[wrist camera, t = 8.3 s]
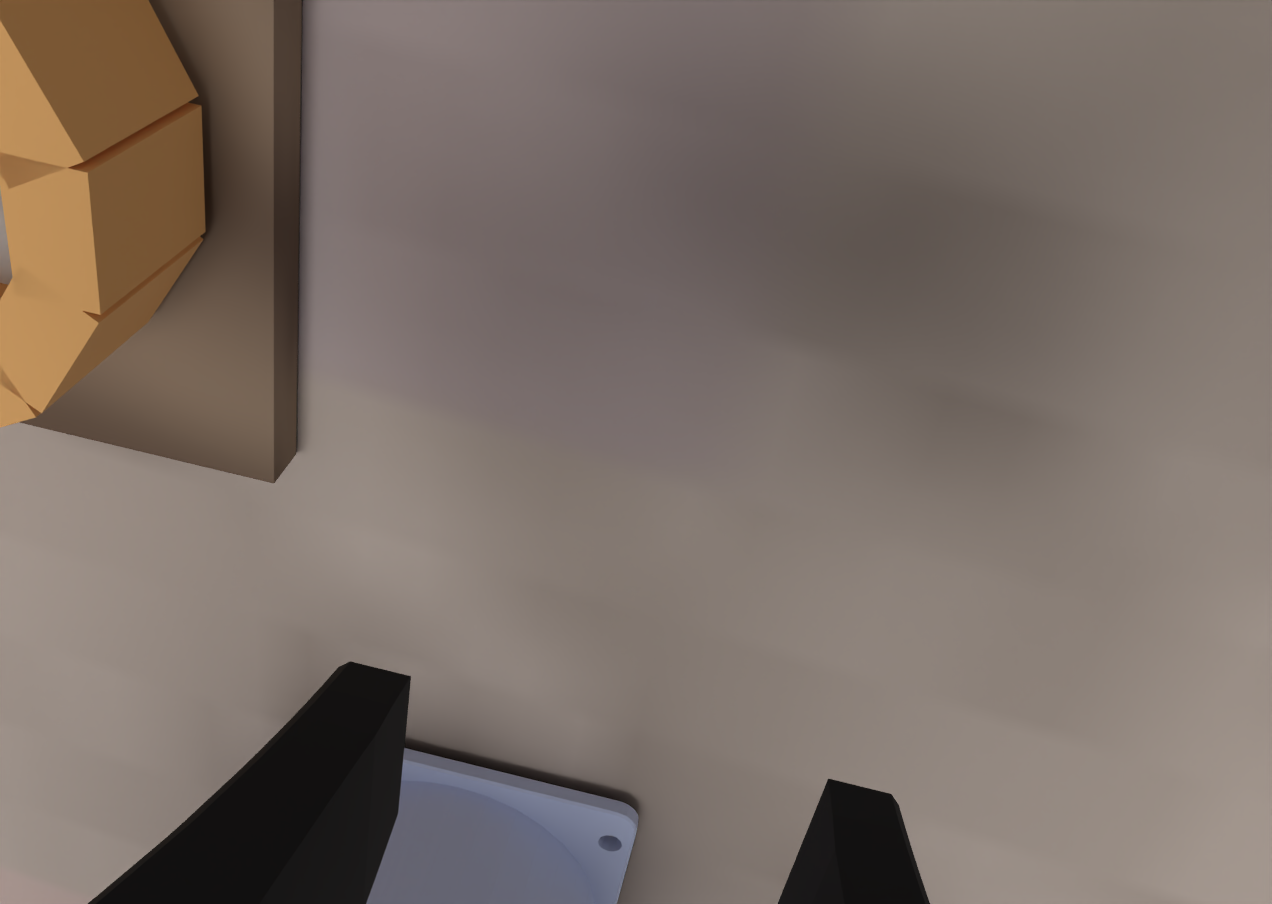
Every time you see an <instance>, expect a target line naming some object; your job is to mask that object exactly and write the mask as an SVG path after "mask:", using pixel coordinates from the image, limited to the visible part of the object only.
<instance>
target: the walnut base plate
mask: <svg viewBox="0 0 1272 904" xmlns="http://www.w3.org/2000/svg"><path fill="white" fill-rule="evenodd" d="M149 2H150V4H151V6H152V8H153V10H154V12H155V14H156V16H157V18H158V19H159V21H160V23H161V25H162V27H163V29H164V31H165V33H166V35H167V37H168V38H169V40H170V42H171V44H172V46H173V48H174V50H175V52H176V54H177V55H178V57H179V59H180V61H181V63H182V65H183V67H184V69H185V71H186V73H187V74H188V76H189V78H190V80H191V82H192V84H193V86H194V88H195V90H196V92H197V93H198V95H199V96H198V97H196V98H194V99H193V100H191V101H189V103H193V104H197V105H201V106H202V137H203V168H204V199H205V230H206V232H205V233H203V234H202V235H201V236H200V237H201V238H203V241H202V242H201V244H200V245H199V247H198V248H197V250H196V251H195V253H194V254H193V256H192V257H191V259H190V260H189V262H188V263H187V265H186V266H185V268H184V269H183V271H182V272H181V274H180V275H179V277H178V278H177V280H176V281H175V283H174V284H173V286H172V287H171V289H170V290H169V292H168V293H167V295H166V296H165V298H164V299H163V301H162V302H161V304H160V305H159V307H158V308H157V310H156V311H155V313H154V314H153V316H152V317H151V319H150V320H149V322H148V323H147V324H145V325H144V326H143V327H142V328H141V329H140V330H138V331H137V332H136V333H135V334H134V335H133V336H131V337H130V338H129V339H128V340H127V341H126V342H124V343H123V344H122V345H121V346H120V347H119V348H117V349H116V350H115V351H114V352H113V353H112V354H110V355H109V356H108V357H107V358H106V359H105V360H103V361H102V362H101V363H100V364H99V365H98V366H96V367H95V368H94V369H93V370H92V371H91V372H89V373H88V374H87V375H86V376H85V377H84V378H82V379H81V380H80V381H79V382H78V383H77V384H75V385H74V386H73V387H72V388H71V389H70V390H68V391H67V392H66V393H65V394H64V395H63V396H61V397H60V398H59V399H58V400H57V401H56V402H54V403H53V404H52V405H51V406H50V407H48V408H47V409H46V410H45V411H44V412H43V413H41V414H39V415H38V416H37V417H36V418H32V419H28V420H25V421H21V422H20V423H25V424H29V425H33V426H37V427H41V428H45V429H50V430H54V431H58V432H62V433H66V434H70V435H75V436H79V437H83V438H87V439H91V440H95V441H100V442H104V443H108V444H112V445H116V446H120V447H125V448H129V449H133V450H137V451H141V452H145V453H149V454H154V455H158V456H162V457H166V458H170V459H174V460H179V461H183V462H187V463H191V464H195V465H199V466H204V467H208V468H212V469H216V470H220V471H224V472H229V473H233V474H237V475H241V476H245V477H249V478H254V479H258V480H262V481H266V482H270V483H275V481H276V480H277V479H278V477H279V476H280V475H281V473H282V472H283V471H284V469H285V468H286V467H287V465H288V464H289V463H290V461H291V460H292V459H293V457H294V456H295V455H296V429H297V349H298V268H299V188H300V107H301V27H302V0H149ZM12 278H13V277H12V270H11V262H10V255H9V248H8V240H7V233H6V226H5V219H4V211H3V204H2V197H1V189H0V283H3V284H7V285H9V283H10V281H11V279H12Z"/></svg>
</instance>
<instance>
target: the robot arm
mask: <svg viewBox="0 0 1272 904" xmlns="http://www.w3.org/2000/svg"><path fill="white" fill-rule="evenodd" d="M410 680H411V676H407V675H403V674H399V673H395V672H391V671H387V670H383V669H378V668H374V667H370V666H366V665H362V664H358V663H354V662H348V663H346V664H344V665H342V666H340V667H338V668H337V670H336V671H335V672H334V673H333V674H332V675H331V676H330V678H329V679H328V680H327V681H326V682H325V683H324V684H323V685H322V687H321V688H320V689H319V690H318V691H317V692H316V693H315V694H314V695H313V696H312V697H311V698H310V700H309V701H308V702H307V703H306V704H305V705H304V706H303V707H302V708H301V709H300V710H299V711H298V712H297V713H296V714H295V716H294V717H293V718H292V719H291V720H290V721H289V722H288V723H287V724H286V725H285V726H284V727H283V728H282V729H281V730H280V731H279V732H278V733H277V734H276V735H275V736H274V737H273V738H272V739H271V740H270V741H269V742H268V743H267V744H266V745H265V746H264V747H263V748H262V749H261V750H260V751H259V752H258V753H257V754H256V755H255V756H254V757H253V758H252V759H251V760H250V761H249V762H248V763H247V764H246V765H245V766H244V767H243V768H242V769H241V770H239V771H238V772H237V773H236V774H235V775H234V776H233V777H232V778H231V779H230V780H229V781H228V782H227V783H225V784H224V785H223V786H222V787H221V788H220V789H219V790H218V791H217V792H216V793H215V794H214V795H213V796H212V797H210V798H209V799H208V800H207V801H206V802H205V803H204V804H203V805H202V806H201V807H200V808H199V809H198V810H196V811H195V812H194V813H193V814H192V815H191V816H190V817H189V818H188V819H187V820H186V821H185V822H183V823H182V824H181V825H180V826H179V827H178V828H177V829H176V830H175V831H173V832H172V833H171V834H170V835H169V836H168V837H167V838H165V839H164V840H163V841H162V842H161V843H159V844H158V845H157V846H156V847H155V848H154V849H152V850H151V851H150V852H149V853H148V854H146V855H145V856H144V857H143V858H142V859H140V860H139V861H138V862H137V863H136V864H135V865H133V866H132V867H131V868H130V869H129V870H127V871H126V872H125V873H124V874H123V875H122V876H120V877H119V878H118V879H117V880H116V881H114V882H113V883H112V884H111V885H110V886H108V887H107V888H106V889H105V890H104V891H103V892H101V893H100V894H99V895H98V896H97V897H95V898H94V899H93V900H92V901H90V902H89V903H88V904H617V901H618V898H619V894H620V890H621V887H622V883H623V880H624V876H625V872H626V869H627V865H628V861H629V858H630V854H631V850H632V847H633V843H634V840H635V836H636V832H637V827H638V814H637V813H636V811H635V810H634V809H633V808H632V807H631V806H629V805H628V804H626V803H623V802H621V801H617V800H613V799H609V798H605V797H601V796H597V795H593V794H589V793H585V792H581V791H577V790H573V789H569V788H565V787H561V786H557V785H553V784H548V783H544V782H540V781H536V780H532V779H528V778H524V777H520V776H516V775H512V774H508V773H504V772H500V771H496V770H492V769H488V768H484V767H480V766H476V765H472V764H468V763H464V762H459V761H455V760H451V759H447V758H443V757H439V756H435V755H431V754H427V753H423V752H419V751H415V750H411V749H407V748H404V745H405V734H406V723H407V713H408V702H409V691H410ZM611 836H614V837H611ZM778 904H930V903H929V900H928V897H927V894H926V891H925V888H924V885H923V882H922V879H921V876H920V873H919V870H918V867H917V864H916V861H915V858H914V855H913V852H912V848H911V845H910V842H909V839H908V835H907V832H906V829H905V825H904V822H903V819H902V815H901V812H900V808H899V805H898V803H897V802H896V800H895V799H894V797H893V796H892V794H889V793H885V792H881V791H876V790H872V789H868V788H864V787H860V786H856V785H852V784H848V783H844V782H840V781H836V780H832V779H828V781H827V783H826V786H825V788H824V791H823V793H822V796H821V798H820V801H819V803H818V806H817V808H816V811H815V813H814V815H813V818H812V820H811V823H810V825H809V828H808V830H807V833H806V835H805V838H804V840H803V843H802V845H801V848H800V850H799V853H798V855H797V857H796V860H795V862H794V865H793V867H792V870H791V872H790V875H789V877H788V880H787V882H786V885H785V887H784V890H783V892H782V895H781V897H780V899H779V902H778Z"/></svg>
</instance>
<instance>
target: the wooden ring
mask: <svg viewBox="0 0 1272 904" xmlns="http://www.w3.org/2000/svg"><path fill="white" fill-rule="evenodd" d="M198 96H199V95H198V93H197V92H196V90H195V88H194V86H193V84H192V82H191V80H190V78H189V76H188V74H187V73H186V71H185V69H184V67H183V65H182V63H181V61H180V59H179V57H178V55H177V54H176V52H175V50H174V48H173V46H172V44H171V42H170V40H169V38H168V37H167V35H166V33H165V31H164V29H163V27H162V25H161V23H160V21H159V19H158V18H157V16H156V14H155V12H154V10H153V8H152V6H151V4H150V2H149V0H0V189H1V197H2V204H3V211H4V219H5V226H6V233H7V240H8V248H9V255H10V262H11V270H12V277H13V278H12V279H11V281H10V283H9V285H7V284H3V283H0V427H3V426H7V425H10V424H14V423H18V422H21V421H25V420H28V419H32V418H36V417H37V416H38V415H39V414H41V413H43V412H44V411H45V410H46V409H47V408H48V407H50V406H51V405H52V404H53V403H54V402H56V401H57V400H58V399H59V398H60V397H61V396H63V395H64V394H65V393H66V392H67V391H68V390H70V389H71V388H72V387H73V386H74V385H75V384H77V383H78V382H79V381H80V380H81V379H82V378H84V377H85V376H86V375H87V374H88V373H89V372H91V371H92V370H93V369H94V368H95V367H96V366H98V365H99V364H100V363H101V362H102V361H103V360H105V359H106V358H107V357H108V356H109V355H110V354H112V353H113V352H114V351H115V350H116V349H117V348H119V347H120V346H121V345H122V344H123V343H124V342H126V341H127V340H128V339H129V338H130V337H131V336H133V335H134V334H135V333H136V332H137V331H138V330H140V329H141V328H142V327H143V326H144V325H145V324H147V323H148V322H149V320H150V319H151V317H152V316H153V314H154V313H155V311H156V310H157V308H158V307H159V305H160V304H161V302H162V301H163V299H164V298H165V296H166V295H167V293H168V292H169V290H170V289H171V287H172V286H173V284H174V283H175V281H176V280H177V278H178V277H179V275H180V274H181V272H182V271H183V269H184V268H185V266H186V265H187V263H188V262H189V260H190V259H191V257H192V256H193V254H194V253H195V251H196V250H197V248H198V247H199V245H200V244H201V242H202V241H203V238H201V237H200V236H201V235H202V234H203V233H205V232H206V230H205V199H204V168H203V137H202V106H201V105H197V104H193V103H189V101H191V100H193V99H194V98H196V97H198Z"/></svg>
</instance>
